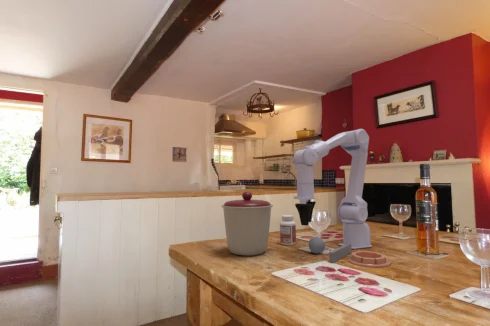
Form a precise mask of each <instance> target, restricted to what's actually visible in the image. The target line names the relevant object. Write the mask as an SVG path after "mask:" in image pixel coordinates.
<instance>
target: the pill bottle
mask: <svg viewBox="0 0 490 326" xmlns="http://www.w3.org/2000/svg"><path fill="white" fill-rule="evenodd" d="M294 219H295V217H294V215H293V214H292V215H291V214H282V215H281V221H280V222H279V232H280V233H279V239H280V240H279V241H280V245H283V246H294V245H296V244H297V228H296V227H297V226H296V222H295V221H294Z"/></svg>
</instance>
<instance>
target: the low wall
mask: <svg viewBox="0 0 490 326" xmlns="http://www.w3.org/2000/svg"><path fill="white" fill-rule="evenodd" d="M352 252H353V251H352V248H351V244H349V243H348V244H346V245H343V246H341V245H340V247H338V248H335V249H334V250H331V251H329V252H328V261H329V262H328V263H331V264H334V263H336V262H338V261H339V260H341V259H343V258H345V257H346V256H348V255H350V254H352Z"/></svg>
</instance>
